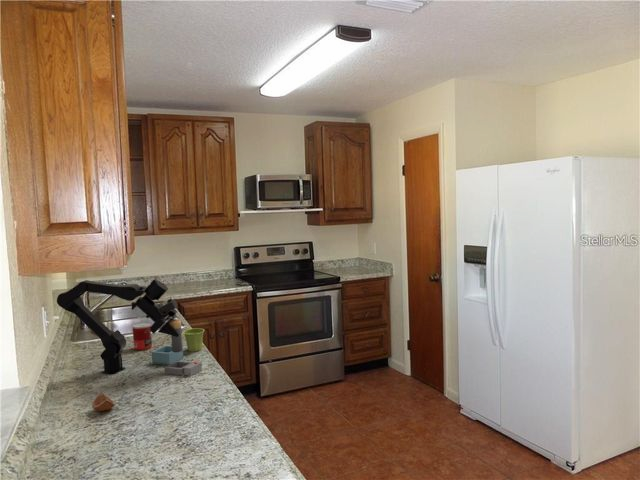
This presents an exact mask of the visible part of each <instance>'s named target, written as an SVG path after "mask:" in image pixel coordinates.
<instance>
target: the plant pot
mask: <svg viewBox="0 0 640 480" xmlns="http://www.w3.org/2000/svg"><path fill="white" fill-rule="evenodd" d="M204 332H205V329H204V328H188V329H186V330H184V331H182V333H183V334H182V335H184V338H185V341H186V342H185V343H186V348H187V351H189V352H190V353H191V352H193V353H196V352H197V351H199V350H200V351H201V350H203V337H204Z"/></svg>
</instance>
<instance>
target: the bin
mask: <svg viewBox="0 0 640 480" xmlns="http://www.w3.org/2000/svg"><path fill="white" fill-rule="evenodd" d="M183 348H184V347H183V346H182V349H183ZM183 359H184V349H183V350H182V351H181V352H172V345H164V346H162V347H160V348H157V349H155V350H153V351H151V363H153V364H154V365H155V364H156V365H162V364H163V365H164V366H168V365H170V364H172V363H174V362H176V361H182V360H183ZM153 364H152V365H153ZM163 365H162V366H163Z"/></svg>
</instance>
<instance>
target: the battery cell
mask: <svg viewBox="0 0 640 480" xmlns="http://www.w3.org/2000/svg"><path fill="white" fill-rule="evenodd" d="M170 324H171V326H172V327H173V328H174V329H175V330H176V331H177V333H178V334H179V336H178V337H175V336H172V335H170V337H171V346H172V352H181V351H182V350H183V351H184V349H182V347H183V337H182V335H183V334H182V333H183V331H182V319H180V318H178V317H176V318H173V320H170ZM181 331H182V332H181Z"/></svg>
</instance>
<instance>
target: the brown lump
mask: <svg viewBox="0 0 640 480" xmlns="http://www.w3.org/2000/svg"><path fill="white" fill-rule="evenodd" d="M115 405H116V403H115V402H114V401H113V400H112V399H111V398H110V397H109V396H107V395H106V394H105V393H104V392H102V391H100V393H99V394H98V395H96V397H95V398H94V400H93V401H92V404H91V407H92V409H93V410H94V411H99V412H105V410H106V411H109V410H111V409H112V408H113V407H114V406H115Z"/></svg>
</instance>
